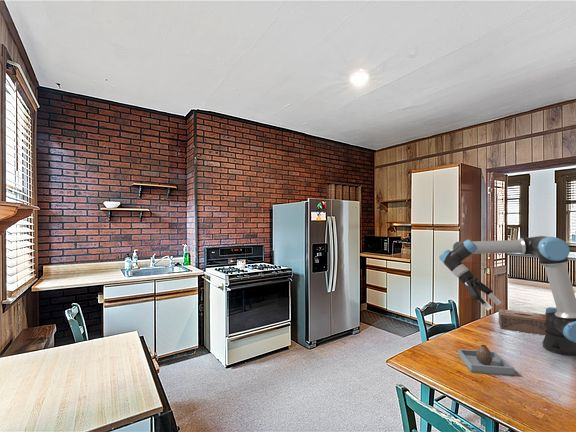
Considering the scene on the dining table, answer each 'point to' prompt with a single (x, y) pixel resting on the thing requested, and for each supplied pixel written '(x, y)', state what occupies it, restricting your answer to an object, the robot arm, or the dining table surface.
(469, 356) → the box
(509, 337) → the dining table surface
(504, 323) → the tissue box cover
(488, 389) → the dining table surface
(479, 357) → the vase
